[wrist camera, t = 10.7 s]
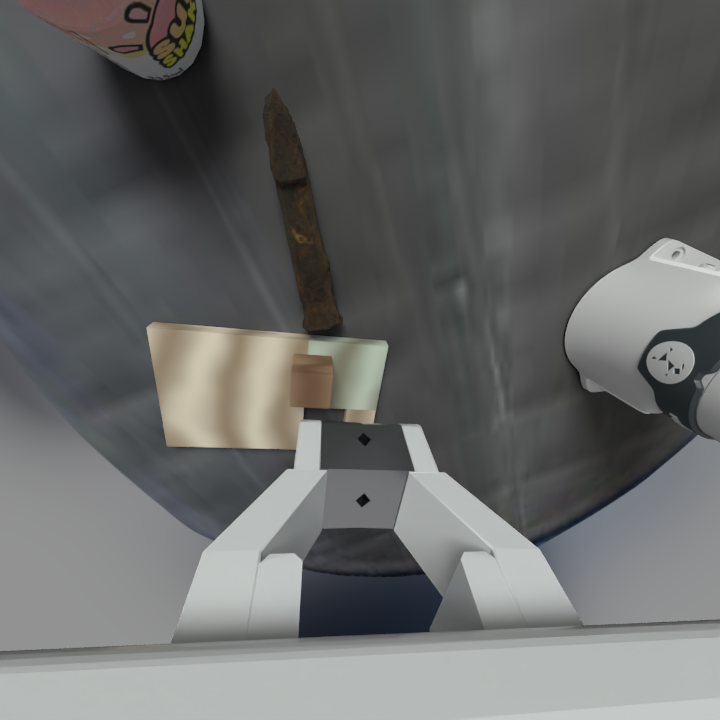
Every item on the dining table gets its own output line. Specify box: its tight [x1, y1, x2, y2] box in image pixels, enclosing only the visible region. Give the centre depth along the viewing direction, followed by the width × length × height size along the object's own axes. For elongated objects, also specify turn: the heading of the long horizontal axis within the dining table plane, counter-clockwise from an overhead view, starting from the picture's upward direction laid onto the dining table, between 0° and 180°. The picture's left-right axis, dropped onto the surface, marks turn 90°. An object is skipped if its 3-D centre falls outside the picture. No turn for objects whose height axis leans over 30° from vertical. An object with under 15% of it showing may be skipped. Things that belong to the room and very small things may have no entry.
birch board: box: [147, 322, 388, 450], centre depth 37 cm, size 24×15×2 cm, turn 82°
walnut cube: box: [289, 354, 333, 409], centre depth 34 cm, size 4×4×4 cm
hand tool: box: [263, 88, 343, 331], centre depth 28 cm, size 19×4×5 cm, turn 6°
